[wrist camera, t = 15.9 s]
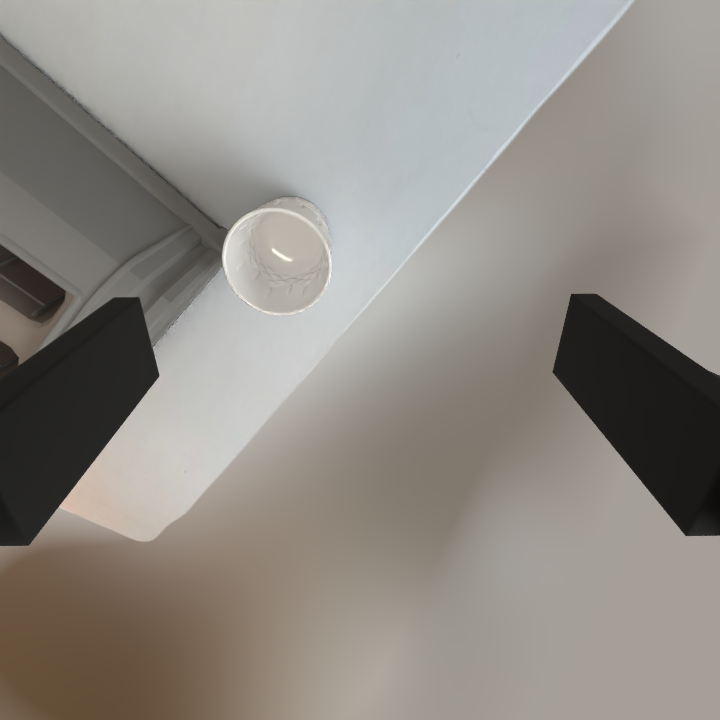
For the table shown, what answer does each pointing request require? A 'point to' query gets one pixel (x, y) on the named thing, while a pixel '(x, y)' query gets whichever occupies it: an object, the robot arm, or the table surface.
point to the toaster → (84, 221)
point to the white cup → (279, 256)
